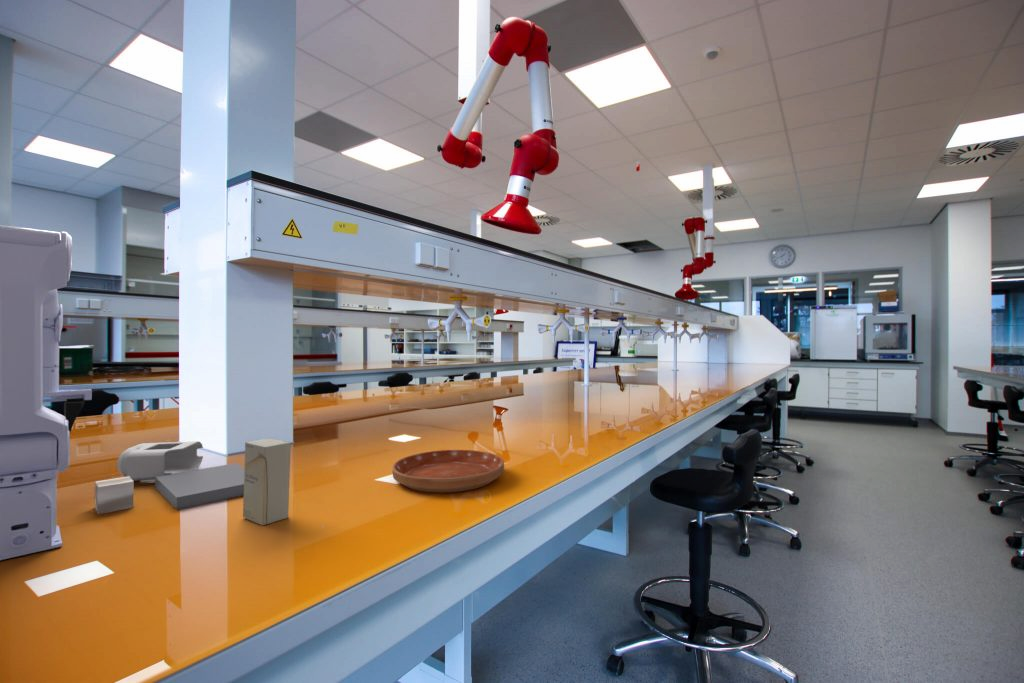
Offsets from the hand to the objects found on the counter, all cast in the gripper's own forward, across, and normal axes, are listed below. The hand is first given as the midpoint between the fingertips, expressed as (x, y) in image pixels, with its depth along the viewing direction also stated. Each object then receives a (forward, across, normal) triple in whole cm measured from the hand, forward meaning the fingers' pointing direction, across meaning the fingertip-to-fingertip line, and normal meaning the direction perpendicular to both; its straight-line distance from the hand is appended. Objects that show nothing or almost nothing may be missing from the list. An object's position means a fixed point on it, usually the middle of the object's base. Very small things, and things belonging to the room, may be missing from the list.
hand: (35, 443), depth 82 cm
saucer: (+11, -59, +43) cm, 74 cm away
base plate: (+10, -23, +15) cm, 29 cm away
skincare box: (+10, -25, +39) cm, 47 cm away
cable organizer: (+10, -18, -3) cm, 21 cm away
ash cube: (+10, -9, +15) cm, 20 cm away
